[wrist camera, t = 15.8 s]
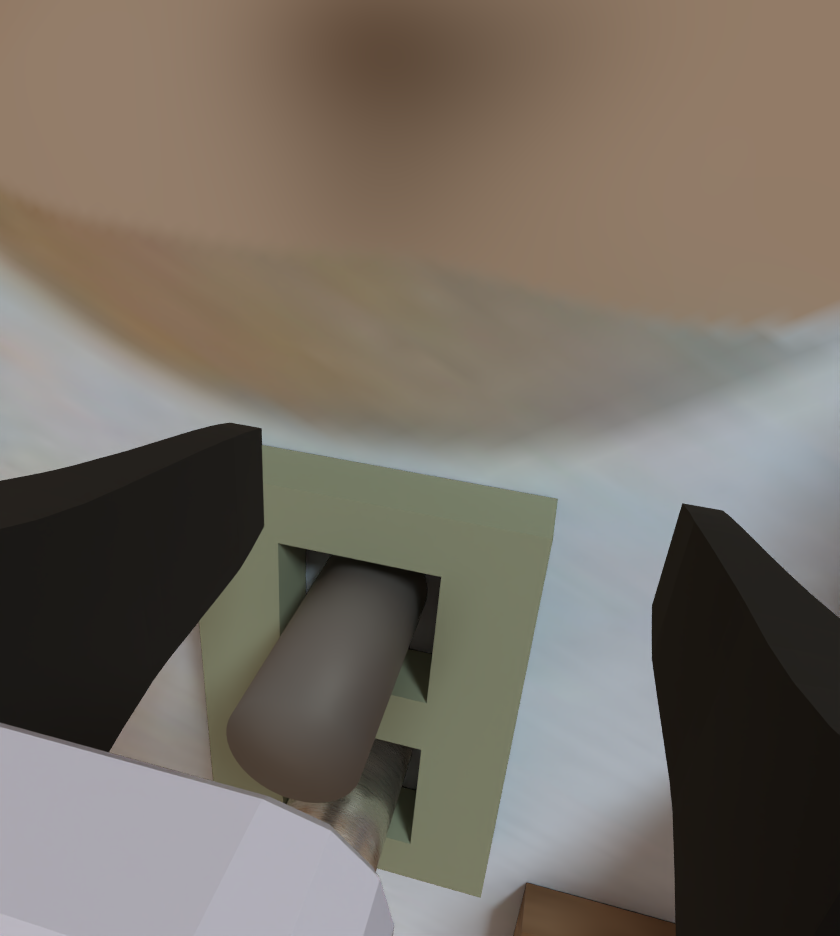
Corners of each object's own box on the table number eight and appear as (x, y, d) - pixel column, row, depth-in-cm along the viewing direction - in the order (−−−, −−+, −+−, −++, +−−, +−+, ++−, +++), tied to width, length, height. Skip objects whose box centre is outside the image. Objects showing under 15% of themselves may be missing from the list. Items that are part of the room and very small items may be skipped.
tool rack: (557, 498, 23) (537, 665, 16) (489, 843, 31) (456, 1051, 24) (222, 437, 25) (73, 561, 18) (242, 776, 33) (146, 950, 26)
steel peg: (431, 746, 29) (377, 941, 22) (375, 785, 31) (310, 975, 24) (358, 689, 29) (280, 871, 22) (307, 731, 31) (220, 911, 24)
